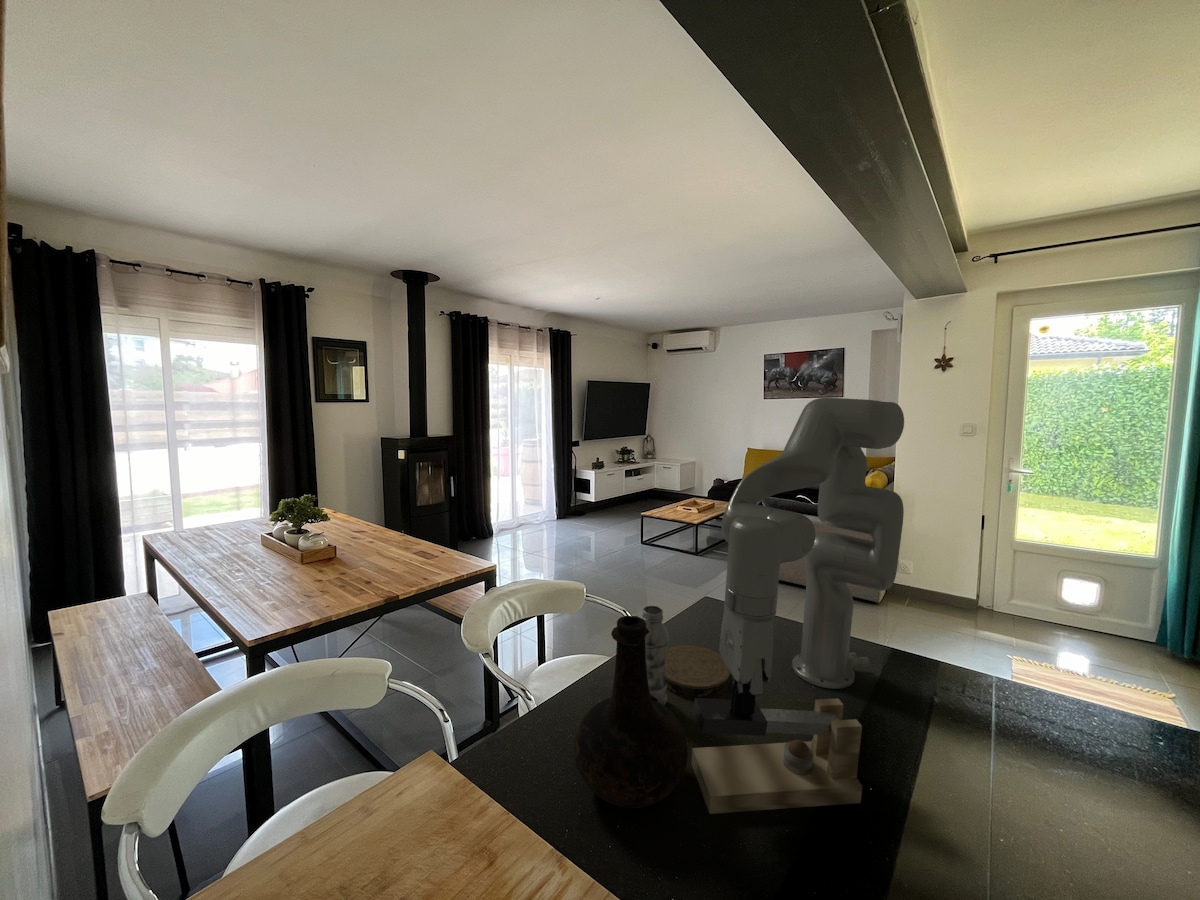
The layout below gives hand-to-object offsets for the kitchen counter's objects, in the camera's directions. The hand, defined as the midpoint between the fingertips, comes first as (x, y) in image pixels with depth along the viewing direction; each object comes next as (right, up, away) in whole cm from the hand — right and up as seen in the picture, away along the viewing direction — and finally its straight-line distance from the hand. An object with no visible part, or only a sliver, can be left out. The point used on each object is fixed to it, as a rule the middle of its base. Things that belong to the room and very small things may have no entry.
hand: (742, 711), depth 82 cm
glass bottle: (-17, -13, +3) cm, 22 cm away
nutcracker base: (+6, -13, +3) cm, 15 cm away
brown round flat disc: (-2, -9, +32) cm, 34 cm away
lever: (+4, -4, +2) cm, 6 cm away
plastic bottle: (-12, -10, +22) cm, 27 cm away
